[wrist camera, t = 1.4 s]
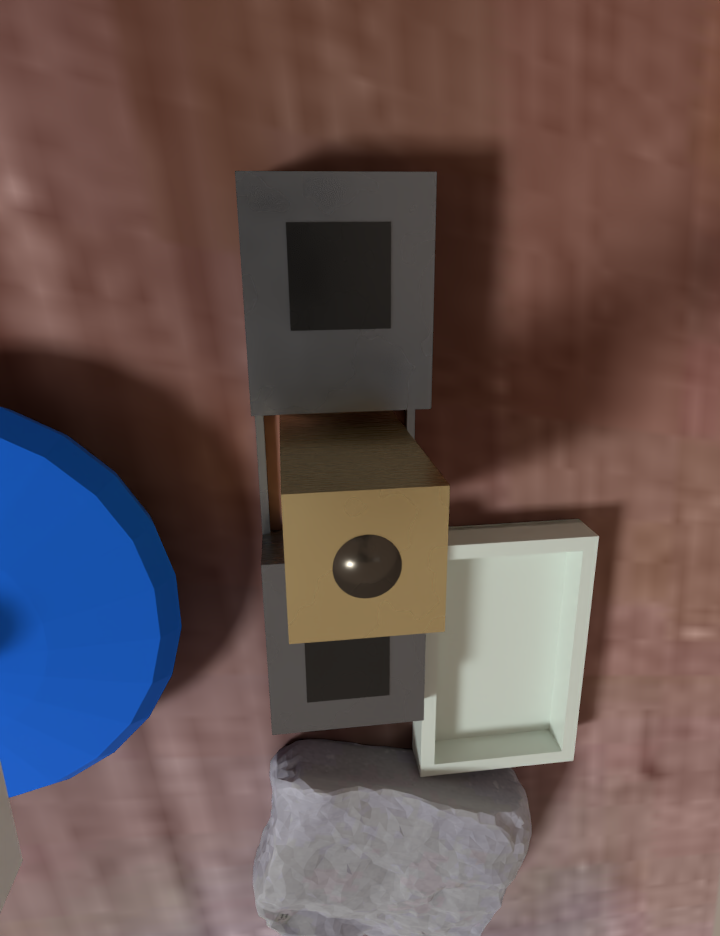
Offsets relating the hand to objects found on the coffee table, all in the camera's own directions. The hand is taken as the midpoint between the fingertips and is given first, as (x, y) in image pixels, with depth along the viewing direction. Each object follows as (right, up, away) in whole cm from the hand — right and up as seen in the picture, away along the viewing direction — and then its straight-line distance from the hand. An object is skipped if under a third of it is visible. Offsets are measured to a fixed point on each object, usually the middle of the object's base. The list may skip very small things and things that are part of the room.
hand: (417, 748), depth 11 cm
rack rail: (-2, +5, +14) cm, 15 cm away
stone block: (0, -13, +21) cm, 24 cm away
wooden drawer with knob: (-2, +5, +14) cm, 15 cm away
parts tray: (+5, -3, +18) cm, 19 cm away
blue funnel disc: (-16, +1, +14) cm, 21 cm away
